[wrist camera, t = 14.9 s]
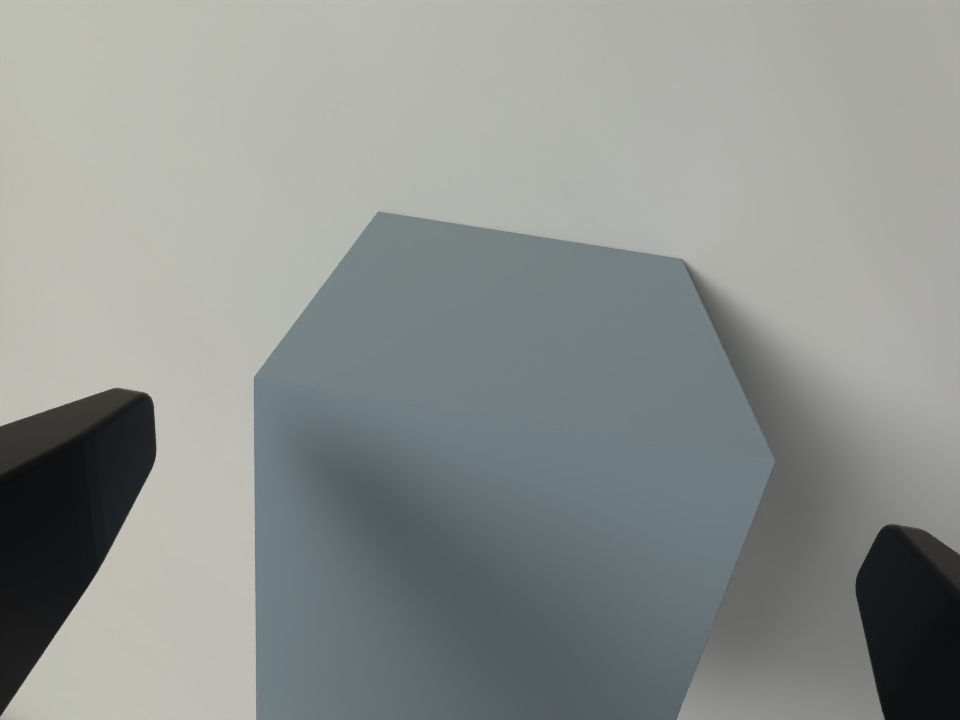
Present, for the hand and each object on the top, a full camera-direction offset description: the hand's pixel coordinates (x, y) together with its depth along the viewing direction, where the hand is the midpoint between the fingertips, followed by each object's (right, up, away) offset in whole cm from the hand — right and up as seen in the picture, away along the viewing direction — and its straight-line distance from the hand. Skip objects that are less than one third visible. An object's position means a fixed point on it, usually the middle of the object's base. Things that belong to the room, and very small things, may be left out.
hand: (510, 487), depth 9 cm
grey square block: (0, +1, +11) cm, 11 cm away
